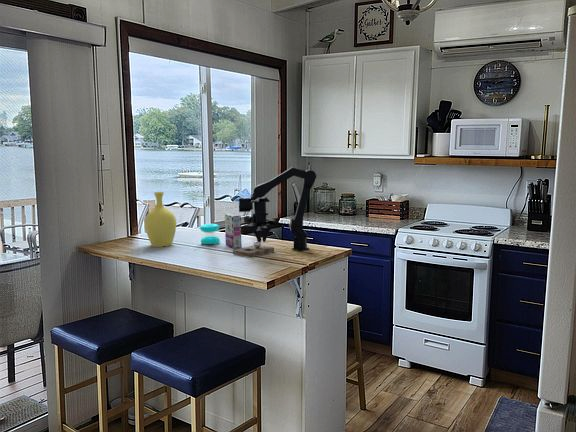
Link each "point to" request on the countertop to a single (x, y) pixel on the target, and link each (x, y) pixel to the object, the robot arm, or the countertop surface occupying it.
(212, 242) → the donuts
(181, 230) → the countertop surface
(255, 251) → the walnut plate
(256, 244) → the steel ball
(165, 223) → the vase
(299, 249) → the robot arm
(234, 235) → the candy bar box
